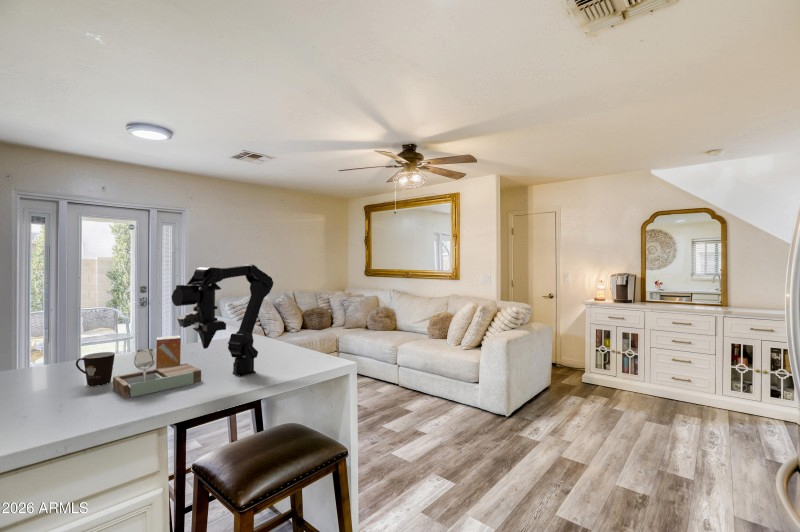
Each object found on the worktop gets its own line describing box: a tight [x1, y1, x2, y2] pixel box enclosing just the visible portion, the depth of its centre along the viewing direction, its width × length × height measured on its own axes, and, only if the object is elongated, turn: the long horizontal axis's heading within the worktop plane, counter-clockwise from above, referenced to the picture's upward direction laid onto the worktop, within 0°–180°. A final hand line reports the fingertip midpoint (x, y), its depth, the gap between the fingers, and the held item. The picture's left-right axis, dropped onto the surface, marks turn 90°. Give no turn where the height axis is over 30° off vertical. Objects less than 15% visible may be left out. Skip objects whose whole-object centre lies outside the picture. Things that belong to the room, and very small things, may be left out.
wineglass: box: [133, 348, 156, 381], centre depth 124 cm, size 6×6×12 cm
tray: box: [122, 372, 194, 398], centre depth 127 cm, size 13×18×4 cm
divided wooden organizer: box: [112, 363, 202, 399], centre depth 128 cm, size 13×23×4 cm, turn 140°
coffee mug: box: [75, 351, 116, 387], centre depth 130 cm, size 12×9×10 cm
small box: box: [155, 334, 182, 369], centre depth 146 cm, size 8×6×13 cm
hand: (205, 348), depth 128 cm, fingers closed
